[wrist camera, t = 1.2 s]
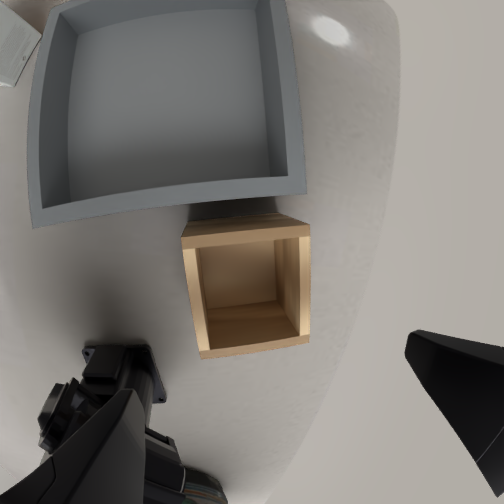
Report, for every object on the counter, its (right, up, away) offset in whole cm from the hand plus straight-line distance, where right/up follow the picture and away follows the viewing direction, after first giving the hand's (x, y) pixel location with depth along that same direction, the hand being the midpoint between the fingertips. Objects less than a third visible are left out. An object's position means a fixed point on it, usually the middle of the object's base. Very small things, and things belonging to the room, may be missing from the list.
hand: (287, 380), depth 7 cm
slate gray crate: (-7, +15, +8) cm, 19 cm away
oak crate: (-2, +3, +12) cm, 13 cm away
